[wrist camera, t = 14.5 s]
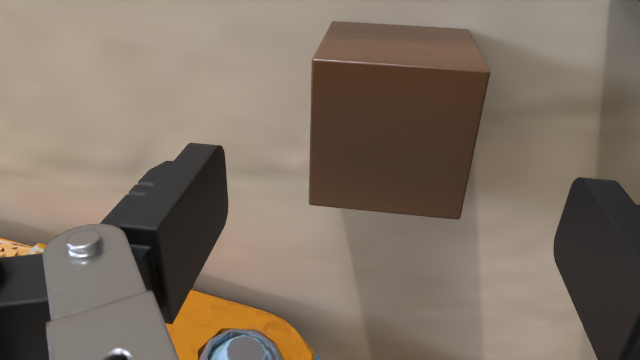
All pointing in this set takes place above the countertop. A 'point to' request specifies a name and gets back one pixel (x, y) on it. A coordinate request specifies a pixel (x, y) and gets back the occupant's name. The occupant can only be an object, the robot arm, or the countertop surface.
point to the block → (395, 118)
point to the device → (217, 326)
